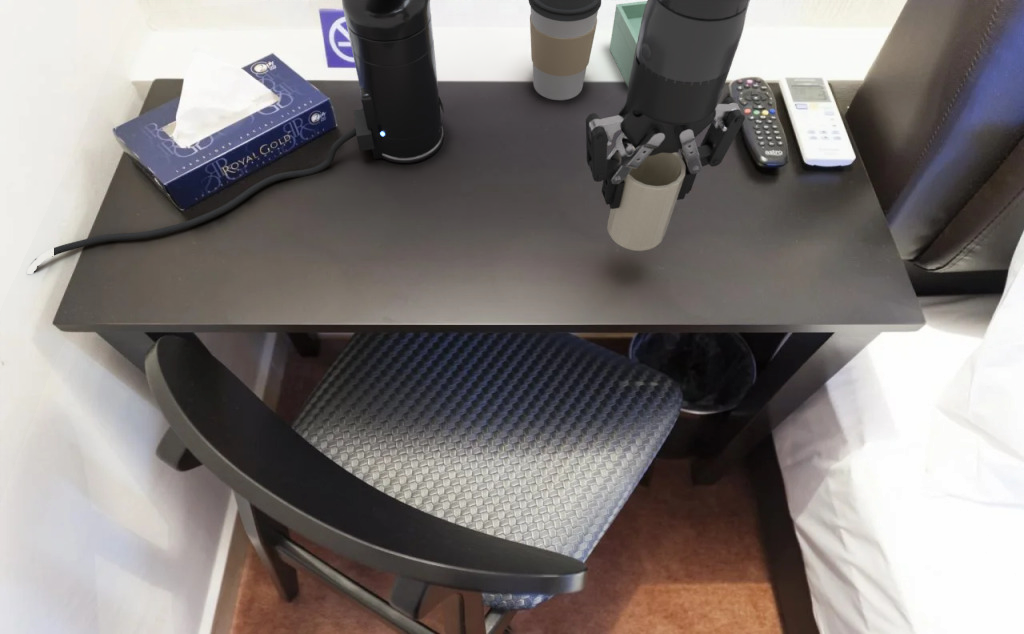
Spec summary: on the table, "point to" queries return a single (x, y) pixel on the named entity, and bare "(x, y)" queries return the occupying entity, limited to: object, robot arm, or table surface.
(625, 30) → the mint green open box
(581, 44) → the coffee cup
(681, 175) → the cup
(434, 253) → the table surface
